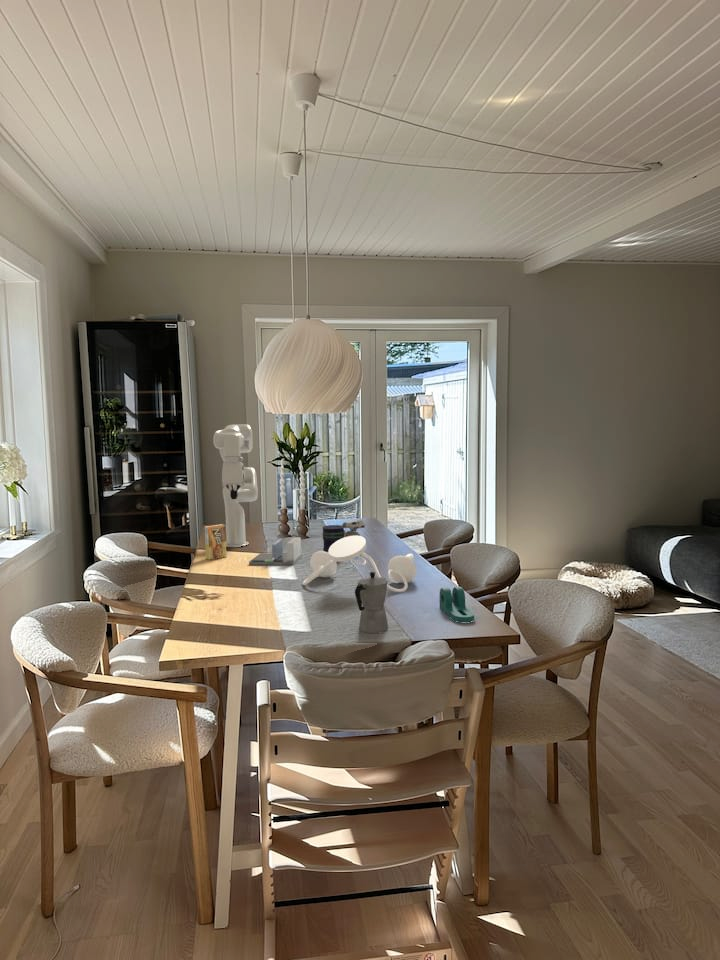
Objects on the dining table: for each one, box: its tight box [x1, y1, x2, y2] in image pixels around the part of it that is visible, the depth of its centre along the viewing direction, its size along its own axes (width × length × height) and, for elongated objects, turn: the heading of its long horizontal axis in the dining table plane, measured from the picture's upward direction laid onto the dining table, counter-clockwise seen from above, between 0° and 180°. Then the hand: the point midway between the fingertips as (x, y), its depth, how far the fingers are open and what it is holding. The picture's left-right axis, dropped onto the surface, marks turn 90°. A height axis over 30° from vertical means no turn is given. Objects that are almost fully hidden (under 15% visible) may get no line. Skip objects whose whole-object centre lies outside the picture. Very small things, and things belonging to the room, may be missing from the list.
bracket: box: [439, 586, 475, 622], centre depth 224 cm, size 18×7×8 cm, turn 11°
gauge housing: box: [248, 536, 303, 566], centre depth 310 cm, size 18×20×10 cm
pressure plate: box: [271, 538, 284, 560], centre depth 308 cm, size 14×2×7 cm, turn 172°
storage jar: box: [322, 524, 345, 552], centre depth 310 cm, size 10×10×15 cm
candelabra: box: [302, 535, 418, 593], centre depth 266 cm, size 20×45×37 cm
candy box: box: [204, 523, 227, 561], centre depth 318 cm, size 9×4×15 cm, turn 129°
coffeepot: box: [354, 571, 389, 634], centre depth 210 cm, size 15×9×18 cm, turn 144°
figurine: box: [341, 519, 367, 542], centre depth 326 cm, size 9×12×15 cm
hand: (234, 498), depth 320 cm, fingers closed
